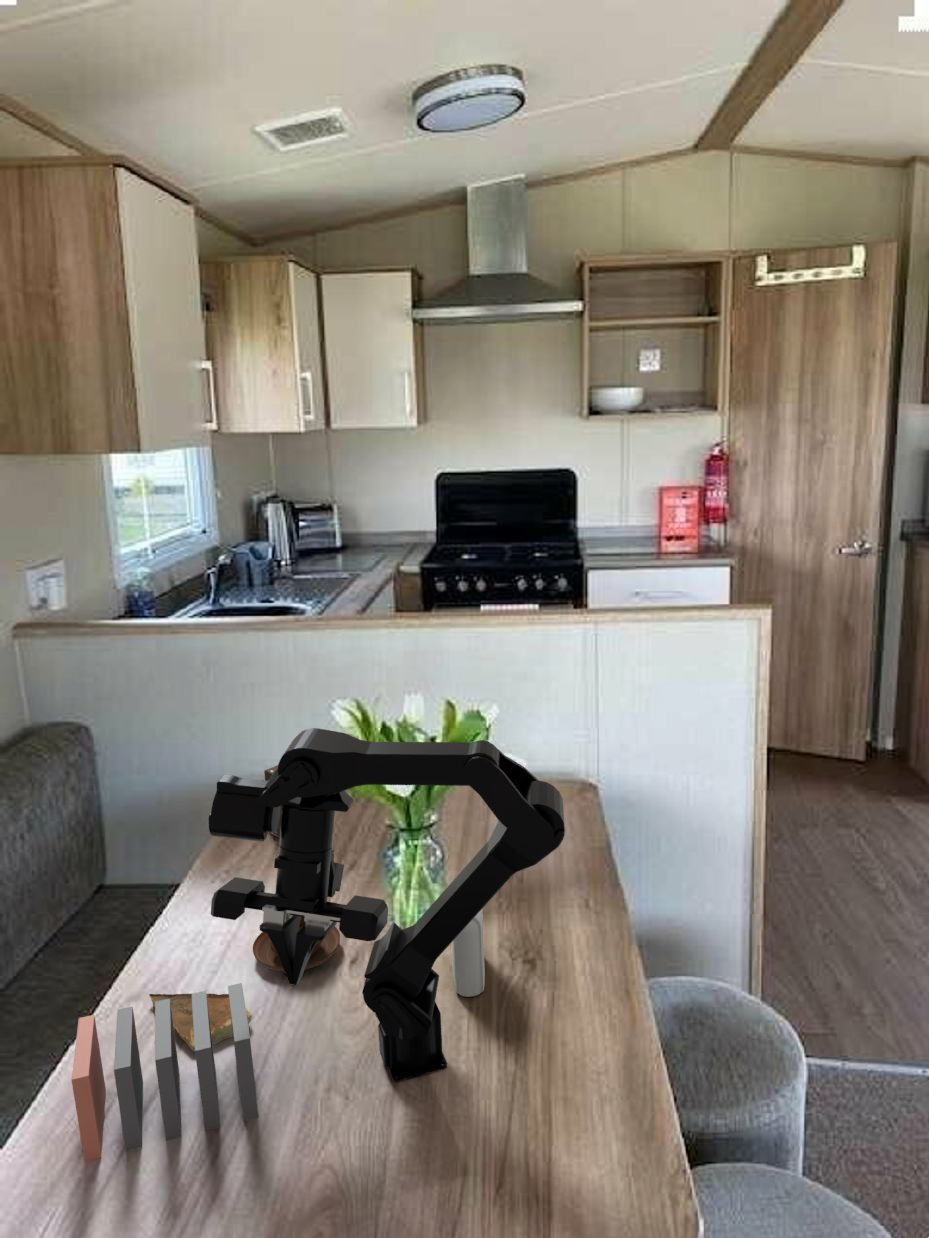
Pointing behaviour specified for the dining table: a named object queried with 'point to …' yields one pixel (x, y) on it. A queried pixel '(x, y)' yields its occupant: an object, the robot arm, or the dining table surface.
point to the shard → (184, 1016)
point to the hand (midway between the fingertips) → (294, 983)
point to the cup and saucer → (320, 953)
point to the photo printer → (469, 958)
